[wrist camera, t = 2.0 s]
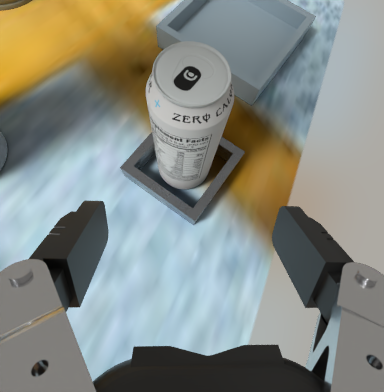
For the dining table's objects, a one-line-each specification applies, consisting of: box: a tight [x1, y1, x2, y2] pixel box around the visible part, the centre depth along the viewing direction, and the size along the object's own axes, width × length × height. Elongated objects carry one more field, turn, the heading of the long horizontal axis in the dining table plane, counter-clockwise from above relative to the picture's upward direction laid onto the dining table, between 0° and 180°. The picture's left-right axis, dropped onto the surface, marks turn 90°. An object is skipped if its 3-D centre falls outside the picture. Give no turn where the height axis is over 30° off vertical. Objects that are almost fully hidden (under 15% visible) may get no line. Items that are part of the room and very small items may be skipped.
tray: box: [156, 0, 316, 106], centre depth 33 cm, size 16×16×3 cm
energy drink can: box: [146, 41, 234, 189], centre depth 21 cm, size 6×6×15 cm
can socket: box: [120, 133, 245, 225], centre depth 27 cm, size 10×10×2 cm
